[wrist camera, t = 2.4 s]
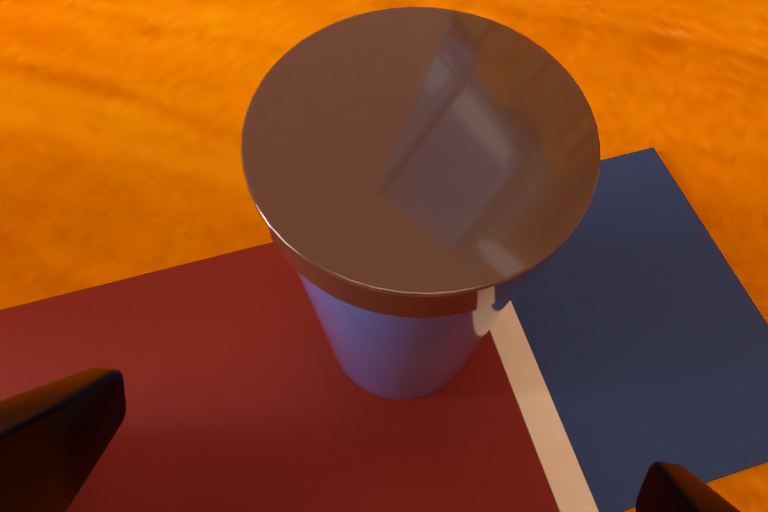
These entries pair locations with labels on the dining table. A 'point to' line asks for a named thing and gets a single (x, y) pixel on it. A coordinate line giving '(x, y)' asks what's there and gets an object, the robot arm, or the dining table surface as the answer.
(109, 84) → the dining table surface
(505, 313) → the sorting mat
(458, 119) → the blue canister
